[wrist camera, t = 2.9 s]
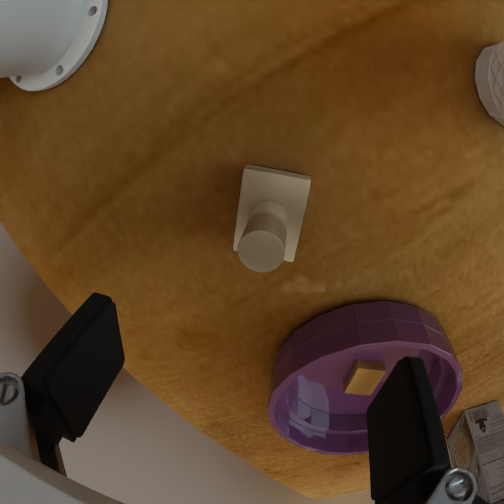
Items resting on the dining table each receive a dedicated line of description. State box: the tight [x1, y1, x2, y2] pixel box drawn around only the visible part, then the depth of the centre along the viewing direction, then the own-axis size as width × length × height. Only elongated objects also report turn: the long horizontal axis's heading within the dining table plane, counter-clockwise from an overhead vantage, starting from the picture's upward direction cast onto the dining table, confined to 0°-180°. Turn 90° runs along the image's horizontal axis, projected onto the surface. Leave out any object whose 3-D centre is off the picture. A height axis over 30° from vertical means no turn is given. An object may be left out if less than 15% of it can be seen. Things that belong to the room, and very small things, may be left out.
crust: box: [343, 359, 386, 395], centre depth 28 cm, size 3×4×1 cm
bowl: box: [267, 301, 462, 455], centre depth 26 cm, size 18×18×6 cm
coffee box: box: [447, 400, 504, 504], centre depth 25 cm, size 9×6×16 cm
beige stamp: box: [233, 165, 311, 272], centre depth 19 cm, size 6×4×8 cm
